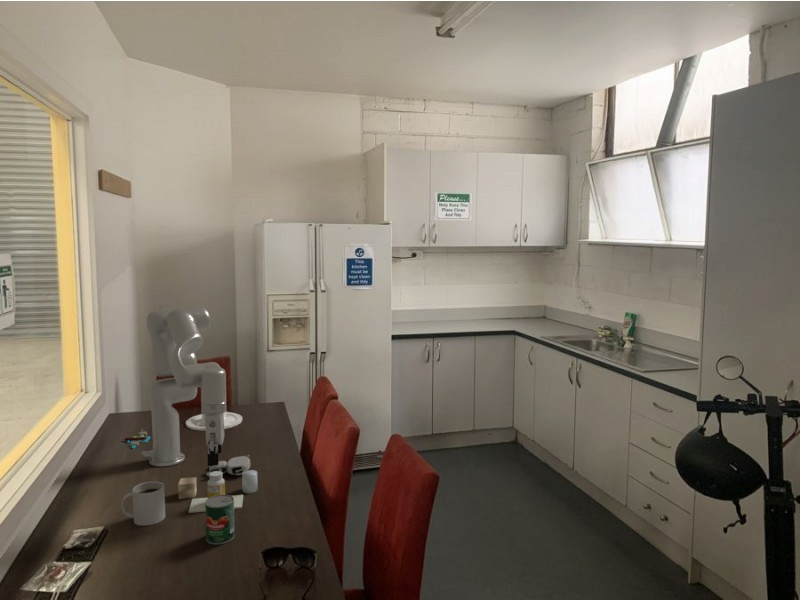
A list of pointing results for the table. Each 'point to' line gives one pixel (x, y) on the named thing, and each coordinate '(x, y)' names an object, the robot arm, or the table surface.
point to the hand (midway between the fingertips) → (214, 458)
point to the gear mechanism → (139, 438)
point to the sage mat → (199, 503)
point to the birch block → (187, 488)
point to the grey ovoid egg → (249, 481)
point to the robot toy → (232, 466)
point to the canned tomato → (219, 519)
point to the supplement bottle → (216, 484)
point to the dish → (199, 421)
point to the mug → (147, 503)
